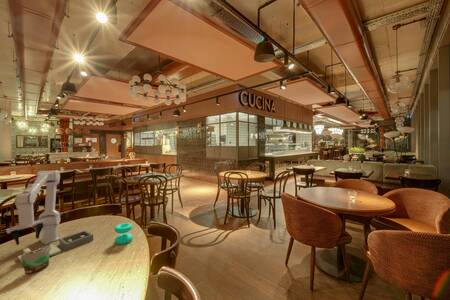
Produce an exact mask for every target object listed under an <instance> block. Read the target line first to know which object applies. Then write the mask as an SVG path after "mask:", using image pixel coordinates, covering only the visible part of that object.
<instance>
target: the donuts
mask: <svg viewBox="0 0 450 300" xmlns="http://www.w3.org/2000/svg"><path fill="white" fill-rule="evenodd" d="M132 229H133V224H132V223H129V222H123V223H120V224H116V226H115V227H114V232H115V233H117V234H119V235H117V236H116V237H115V238H114V243H116V244H117V245H125V244H129V243H130V242H131V241H132V240H133V239H134V236H133V234H132V233H129V232H130V231H131V230H132Z"/></svg>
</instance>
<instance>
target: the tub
mask: <svg viewBox="0 0 450 300" xmlns="http://www.w3.org/2000/svg"><path fill="white" fill-rule="evenodd" d="M92 241H94V234H93V233H90V232H89V231H88V230H82V231H79V232H76V233H73V234H70V235H68V236H64V237H62V238H61V237H60V239H59V240H58V244H59V246H61V247H62V248H63V249H65V250H66V251H68V250H71V249H73V248H76V247H79V246H81V245H84V244H86V243H90V242H92Z"/></svg>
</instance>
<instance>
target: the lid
mask: <svg viewBox="0 0 450 300" xmlns="http://www.w3.org/2000/svg"><path fill="white" fill-rule="evenodd" d="M50 246H51V250H50V252H49V257H51V256H54V255H57V254H59V253H61V252H62V249H60V248H59V247H57V246H56V245H55V244H50ZM22 252H23V254H21V255H18V256H17V259H18V260H19V261H20V262H21V263H22V264H23V261H22V260H21V256H22V255H27V254H29V253H30V252H32V250H31V249H30V248H29V247H27V248H24V249H23V250H22Z"/></svg>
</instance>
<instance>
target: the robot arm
mask: <svg viewBox="0 0 450 300" xmlns="http://www.w3.org/2000/svg"><path fill="white" fill-rule="evenodd" d="M36 174H37V175H36V179H35V181H34V182H33V183H29V185H28V186H27V187H26V188H25V189H24V190H23V191H22V192H21V193H18V194H16V195H15V197H14V204H15V207H16V209H17V212H18V224H17V225H15V226H12V227H8V228H6V233H7V234H10V235H11V236H12V238H13V239H14V241H15V244H16V245H17V246H19V245H20V238H19V237H20V236H19V234H20V233H19V231H21V230H25V229H29V228H31V227H34V229H35V239H36V240H39V241H40V242H41V243H42V244H43V245H47V243H49V244H50V243H52V242H55V241H59V239H61V237H59V236H58V235H59V234H58V225H59V224H60V222H61V212H60V211H57V210H56V198H57V187H58V186H57V185H58V184H60V180H61V173H60V171H59V170H58V169H57V170H39V171H38V172H37V173H36ZM43 185H45V186H46V188H45V189H46V191H45V192H46V193H45V200H44V201H45V202H44V203H45V204H44V211H43V212H42V213H41V214H39V216H38V219H37V220H35V214H34V213H35V211H34V203H35V202H36V199H37V195H38V194H39V193H40V192H41V190H42V188H41V187H42V186H43ZM40 236H41V238H40Z"/></svg>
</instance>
